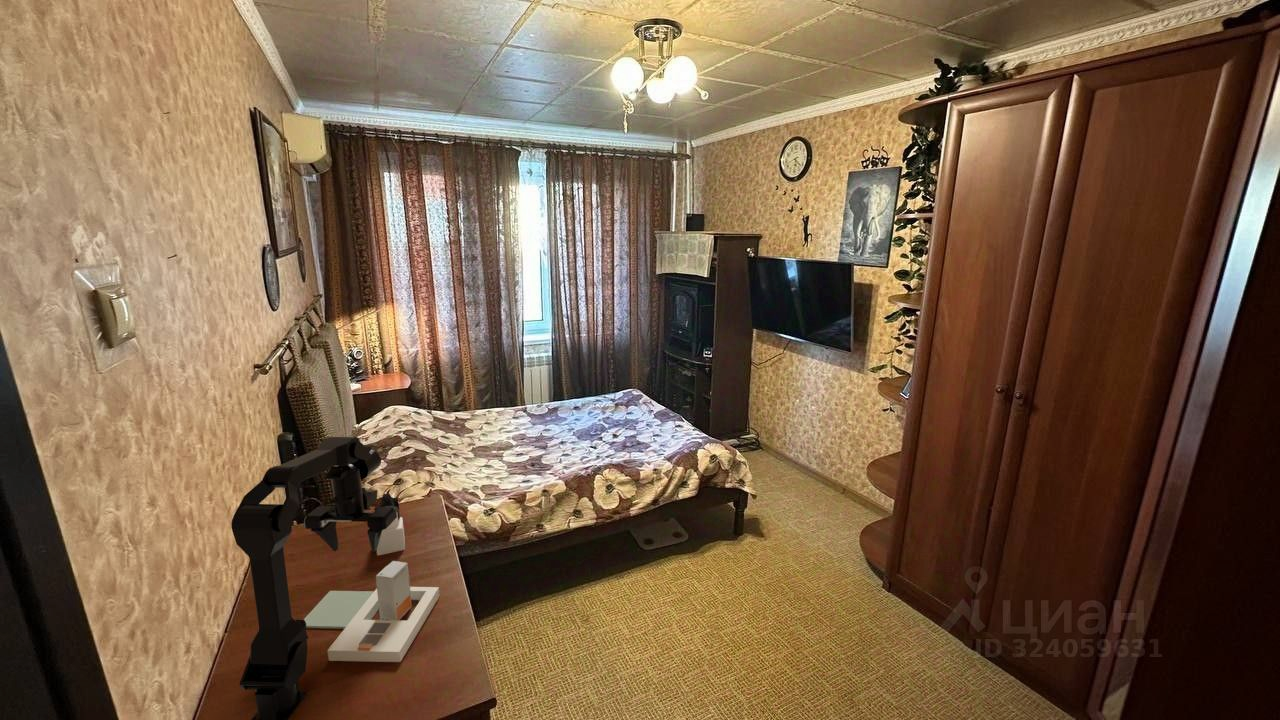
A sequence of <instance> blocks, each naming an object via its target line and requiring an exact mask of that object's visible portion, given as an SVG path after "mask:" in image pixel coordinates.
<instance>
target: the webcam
mask: <svg viewBox="0 0 1280 720" xmlns="http://www.w3.org/2000/svg"><path fill="white" fill-rule="evenodd" d="M385 506H396V507H398V508H399V509H400V503H399V498H398V496H396V497H393V496H392V495H391V494H390V493H388V492H387V493H384V494H382V496H381V504H380V505H379V506H377V507H374V511H375V510H376V509H377V508H378V507H385ZM400 517H402V516H401V515H400Z"/></svg>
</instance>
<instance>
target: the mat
mask: <svg viewBox="0 0 1280 720" xmlns="http://www.w3.org/2000/svg"><path fill="white" fill-rule="evenodd" d="M374 591H375V590H374ZM374 591H373V590H372V591H371V590H369V591H367V590H366V591H362V590H361V591H360V590H329V591H328V593H327V594H326V595H324V597H323V598H322V599H321V600H320V601H319V602H318V603H317V604H316V605H315V606H314V608H313V609H311V611H310V612H309V613H308V614H307V615H306V616H305V618H303V620H305V622H306V629H336V630H338V629H339V630H344V629H345V628H346V626H347V625H348V624H349V623H350V621H351V620H352V619H353V617H354V616H355V615H356V614H357V612H358V611H359V610H360V609H361V607H362V606H363V605H364V604H365V602H366V601H367V600H368V599H369V597H370V596H371V595H372V593H373V592H374Z"/></svg>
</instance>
